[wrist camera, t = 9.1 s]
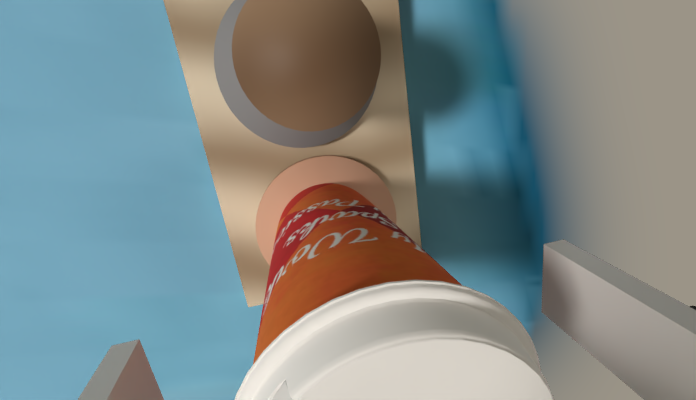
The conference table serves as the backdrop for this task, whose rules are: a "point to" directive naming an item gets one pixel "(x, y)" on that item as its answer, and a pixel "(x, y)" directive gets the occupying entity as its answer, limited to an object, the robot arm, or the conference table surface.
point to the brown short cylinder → (306, 60)
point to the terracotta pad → (310, 175)
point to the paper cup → (377, 316)
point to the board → (271, 159)
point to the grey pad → (247, 110)
